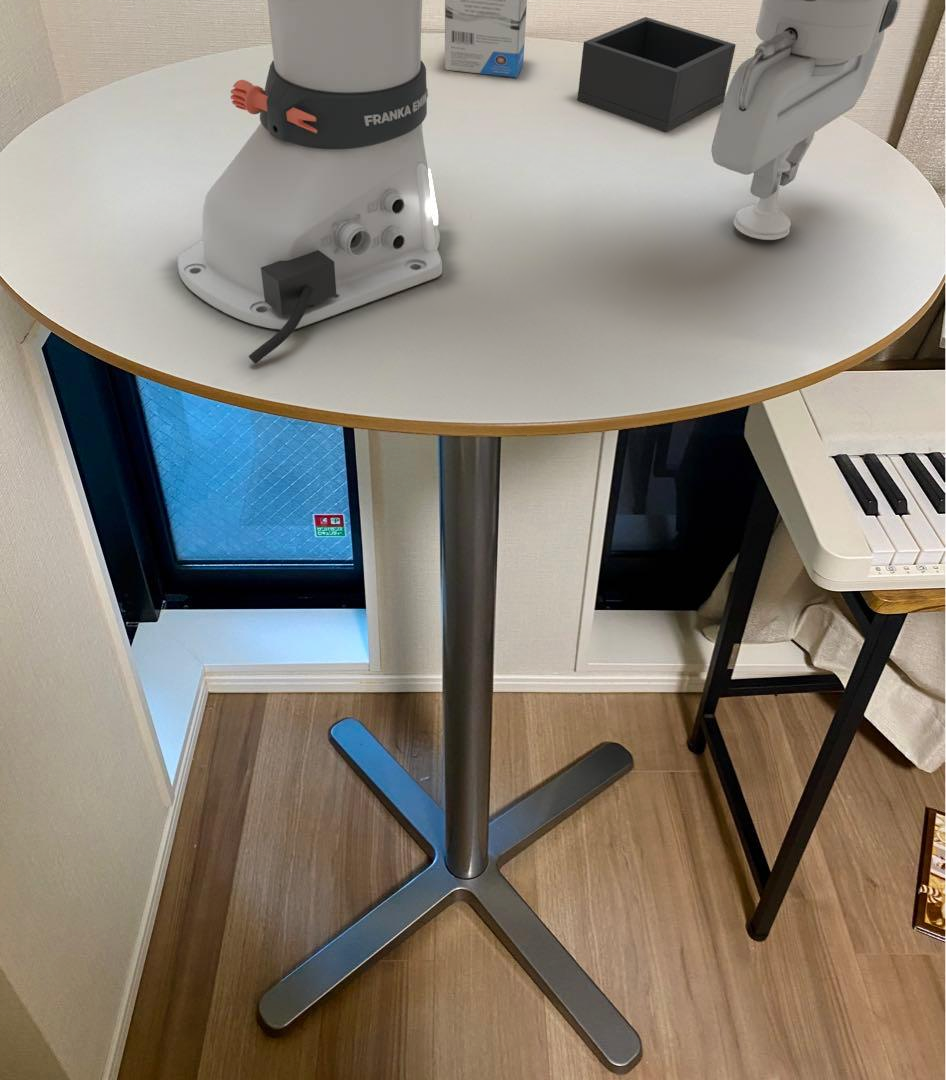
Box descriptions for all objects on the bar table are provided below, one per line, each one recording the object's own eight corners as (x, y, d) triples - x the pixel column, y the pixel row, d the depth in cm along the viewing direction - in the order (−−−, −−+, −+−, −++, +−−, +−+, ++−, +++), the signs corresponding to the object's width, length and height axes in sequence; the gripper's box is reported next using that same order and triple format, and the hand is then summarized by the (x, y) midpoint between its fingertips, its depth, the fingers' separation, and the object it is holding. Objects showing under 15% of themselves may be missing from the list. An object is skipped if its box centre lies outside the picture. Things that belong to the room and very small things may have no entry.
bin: (666, 132, 103) (677, 72, 99) (577, 100, 108) (583, 41, 104) (723, 101, 109) (736, 44, 105) (636, 72, 114) (645, 16, 110)
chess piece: (731, 234, 87) (760, 120, 80) (735, 209, 90) (763, 97, 83) (788, 244, 86) (822, 130, 79) (790, 218, 89) (823, 106, 82)
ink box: (524, 64, 115) (533, -50, 107) (516, 79, 111) (524, -37, 103) (452, 55, 116) (455, -59, 108) (442, 70, 113) (444, -46, 104)
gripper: (792, 61, 69) (744, 243, 78) (910, -4, 80) (855, 163, 90) (713, 37, 71) (676, 216, 81) (838, -22, 83) (793, 141, 92)
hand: (771, 187), depth 86 cm, fingers closed on chess piece
